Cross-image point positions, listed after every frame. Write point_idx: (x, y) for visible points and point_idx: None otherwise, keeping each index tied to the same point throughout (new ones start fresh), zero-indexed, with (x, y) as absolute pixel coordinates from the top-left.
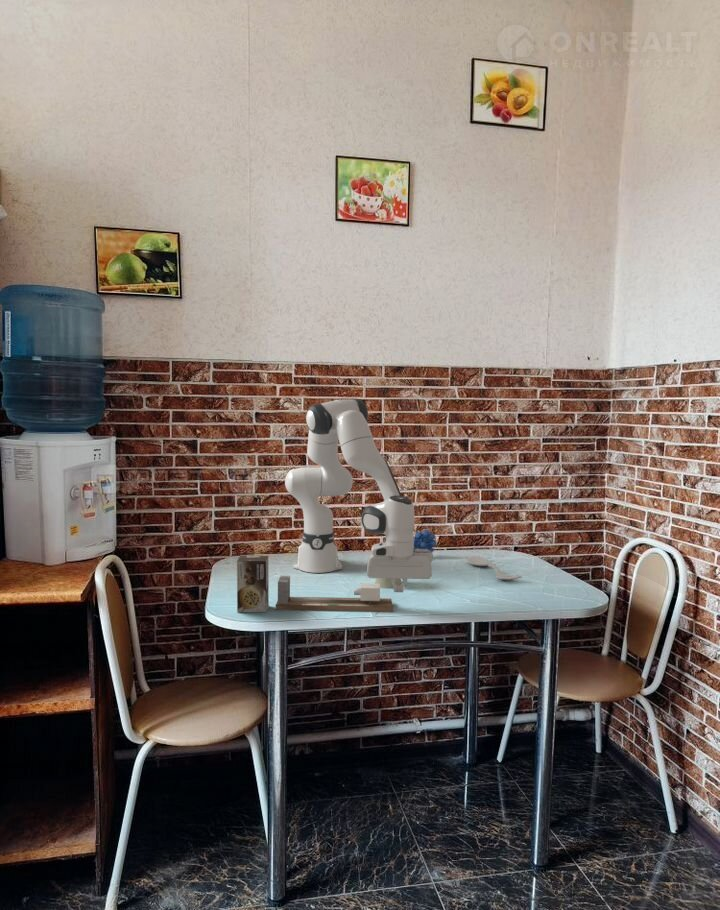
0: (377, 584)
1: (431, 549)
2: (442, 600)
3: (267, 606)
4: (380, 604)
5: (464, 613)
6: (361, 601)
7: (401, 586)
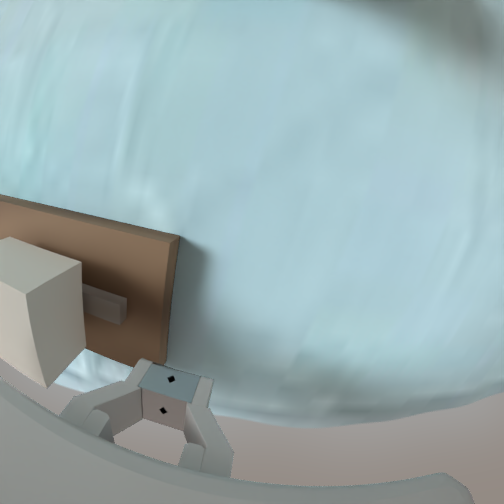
0: (19, 311)
1: None
2: (481, 244)
3: None
4: (100, 329)
5: (451, 399)
6: None
7: (184, 428)
